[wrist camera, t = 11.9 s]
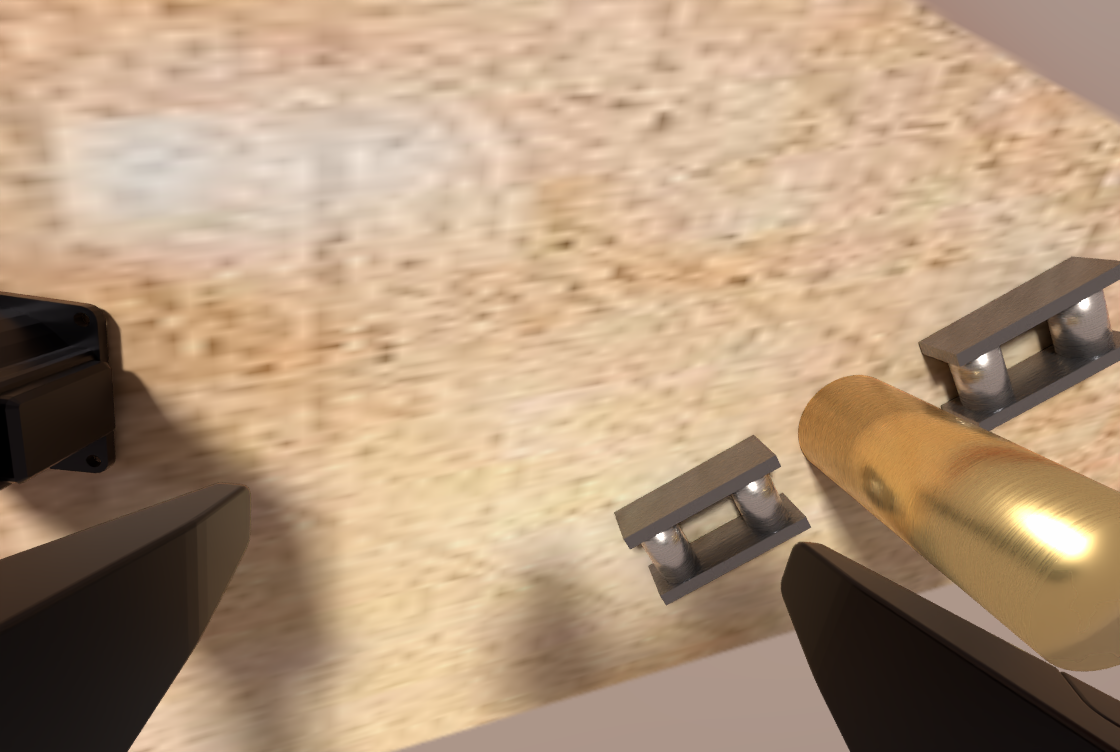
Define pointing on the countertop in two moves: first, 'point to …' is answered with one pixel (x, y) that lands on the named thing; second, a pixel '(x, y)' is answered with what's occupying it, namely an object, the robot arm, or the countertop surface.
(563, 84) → the countertop surface
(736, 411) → the countertop surface
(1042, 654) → the link pin
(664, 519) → the chain end
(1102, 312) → the chain end
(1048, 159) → the countertop surface
